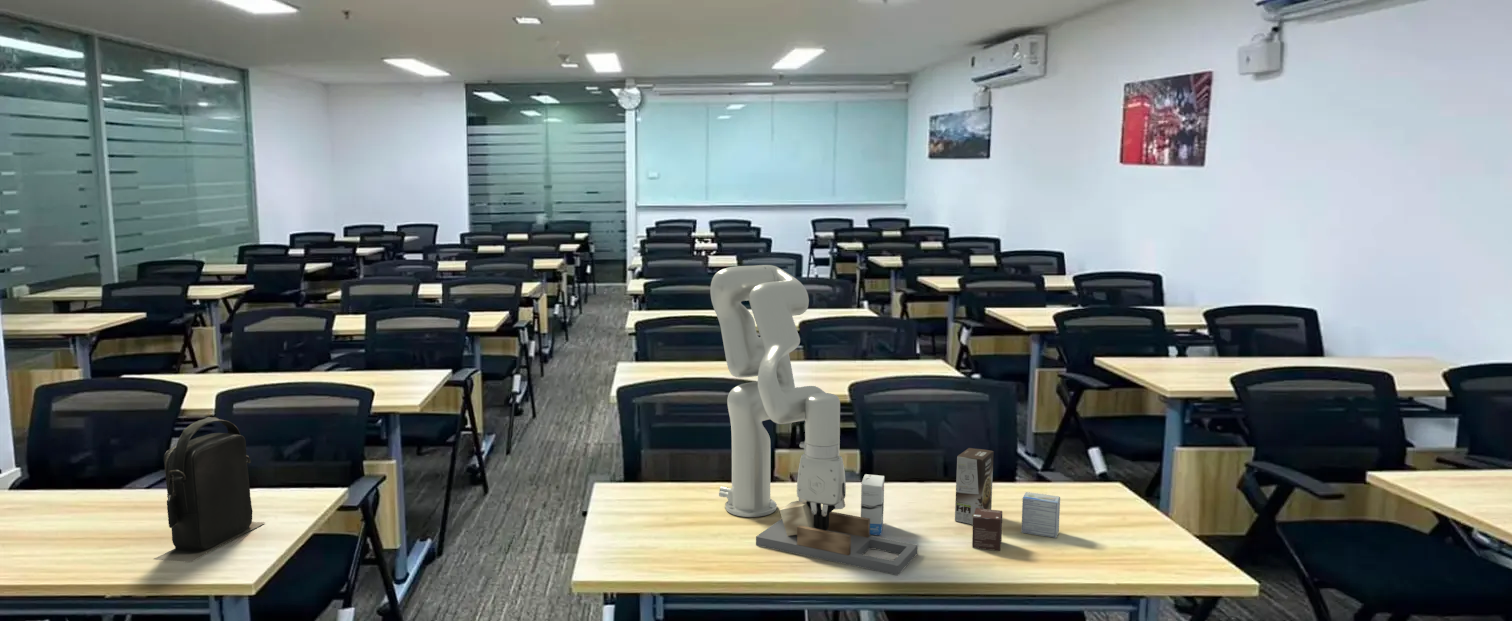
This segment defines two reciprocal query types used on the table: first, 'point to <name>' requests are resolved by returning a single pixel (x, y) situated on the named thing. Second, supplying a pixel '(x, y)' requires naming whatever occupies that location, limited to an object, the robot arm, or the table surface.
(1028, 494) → the medicine box
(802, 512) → the maple block
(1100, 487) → the table surface
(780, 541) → the deck
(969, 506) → the coffee box
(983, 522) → the box
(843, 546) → the tunnel walls
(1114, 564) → the table surface
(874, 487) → the ink box
